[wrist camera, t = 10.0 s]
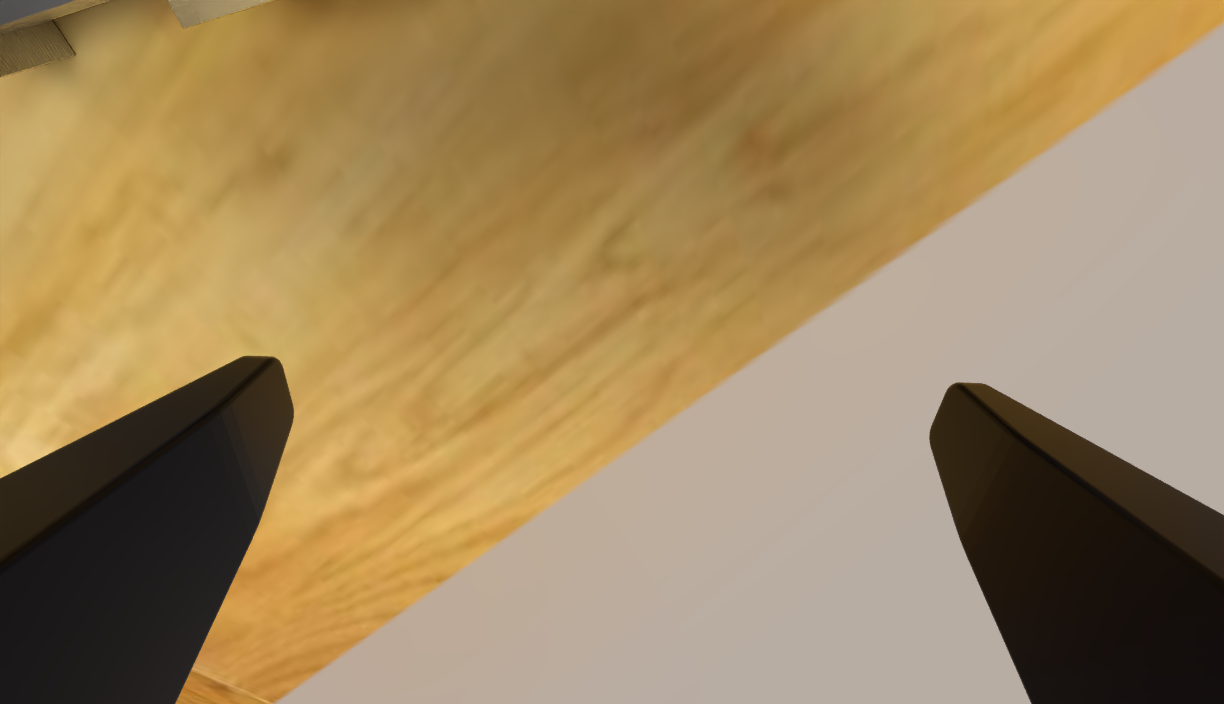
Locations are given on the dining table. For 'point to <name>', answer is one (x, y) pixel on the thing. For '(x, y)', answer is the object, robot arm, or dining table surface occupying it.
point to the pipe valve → (27, 3)
